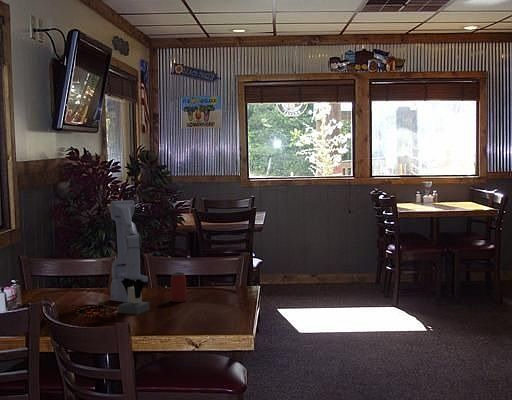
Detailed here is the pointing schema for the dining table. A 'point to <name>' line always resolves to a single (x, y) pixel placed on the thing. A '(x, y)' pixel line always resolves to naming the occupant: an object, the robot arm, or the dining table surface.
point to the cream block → (133, 296)
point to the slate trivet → (134, 307)
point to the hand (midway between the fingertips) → (133, 297)
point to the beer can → (178, 287)
